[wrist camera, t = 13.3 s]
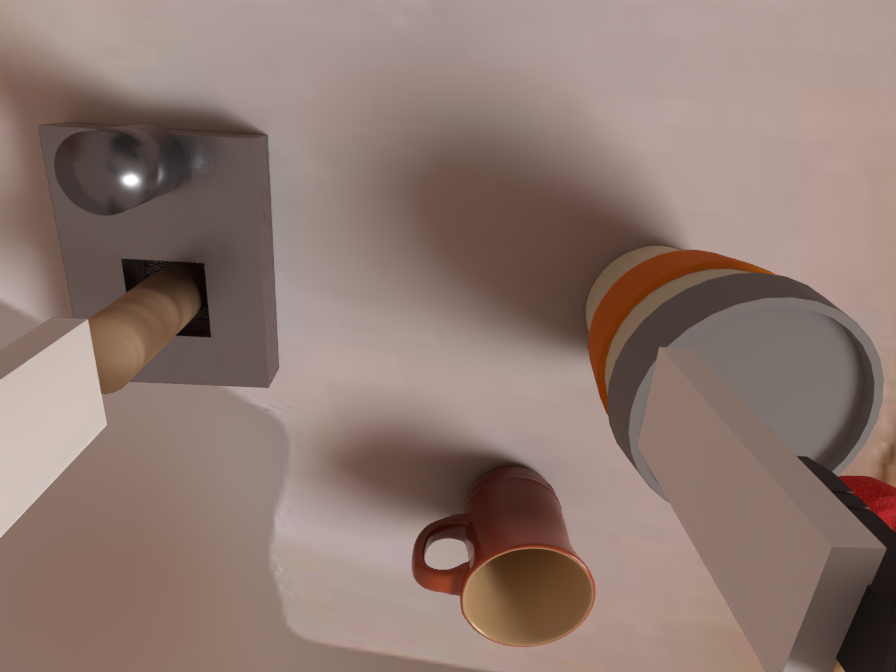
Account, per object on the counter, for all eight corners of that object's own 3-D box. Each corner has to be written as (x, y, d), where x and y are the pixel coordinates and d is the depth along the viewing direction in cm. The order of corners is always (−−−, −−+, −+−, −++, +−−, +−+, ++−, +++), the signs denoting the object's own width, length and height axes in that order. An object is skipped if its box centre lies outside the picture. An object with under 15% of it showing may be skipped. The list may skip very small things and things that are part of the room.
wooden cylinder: (155, 258, 40) (51, 325, 29) (211, 262, 40) (128, 330, 29) (160, 308, 41) (62, 391, 30) (214, 312, 42) (135, 396, 31)
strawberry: (863, 434, 47) (968, 520, 38) (862, 509, 50) (960, 606, 41) (786, 452, 47) (872, 541, 38) (790, 525, 50) (871, 625, 41)
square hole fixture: (66, 113, 36) (-42, 122, 28) (267, 126, 37) (219, 139, 29) (107, 360, 43) (30, 427, 34) (278, 368, 43) (243, 435, 35)
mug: (572, 456, 47) (608, 550, 38) (552, 544, 50) (581, 651, 41) (419, 444, 46) (417, 537, 37) (409, 534, 50) (404, 640, 40)
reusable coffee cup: (548, 382, 44) (602, 518, 31) (574, 212, 40) (651, 282, 26) (714, 391, 45) (839, 527, 31) (759, 224, 40) (931, 299, 26)
